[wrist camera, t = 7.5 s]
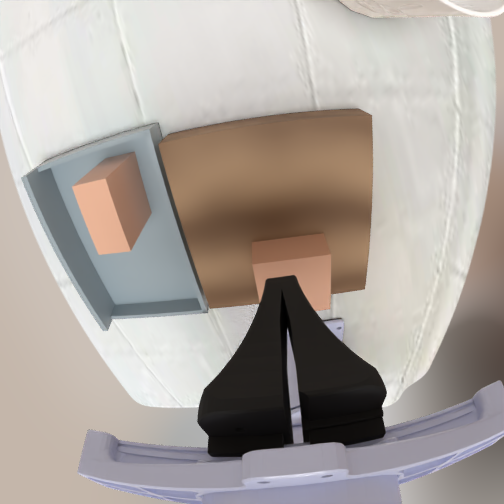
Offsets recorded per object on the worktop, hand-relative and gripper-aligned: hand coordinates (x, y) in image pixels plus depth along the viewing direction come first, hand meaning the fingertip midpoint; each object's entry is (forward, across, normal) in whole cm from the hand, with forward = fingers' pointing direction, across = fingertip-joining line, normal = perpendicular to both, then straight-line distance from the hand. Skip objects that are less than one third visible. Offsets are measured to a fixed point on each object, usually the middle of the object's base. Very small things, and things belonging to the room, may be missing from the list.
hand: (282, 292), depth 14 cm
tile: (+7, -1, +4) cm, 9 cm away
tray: (+10, +12, +1) cm, 16 cm away
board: (+10, 0, +1) cm, 10 cm away
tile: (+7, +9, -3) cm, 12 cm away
